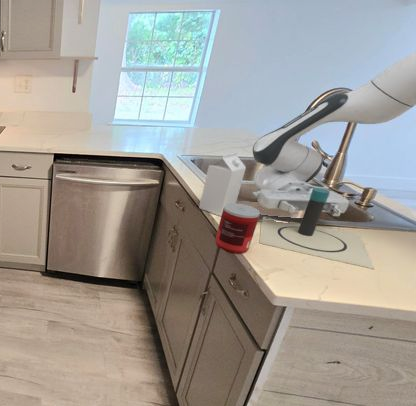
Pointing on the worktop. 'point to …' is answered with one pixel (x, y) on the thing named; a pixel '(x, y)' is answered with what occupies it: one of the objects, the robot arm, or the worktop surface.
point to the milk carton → (222, 183)
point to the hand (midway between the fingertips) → (316, 212)
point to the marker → (313, 211)
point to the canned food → (236, 227)
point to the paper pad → (316, 242)
